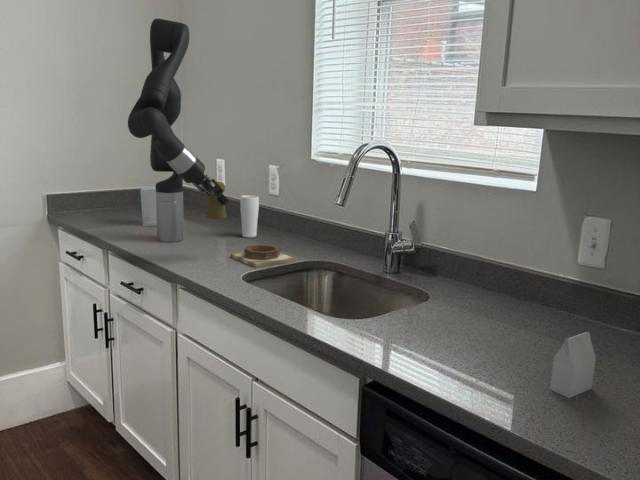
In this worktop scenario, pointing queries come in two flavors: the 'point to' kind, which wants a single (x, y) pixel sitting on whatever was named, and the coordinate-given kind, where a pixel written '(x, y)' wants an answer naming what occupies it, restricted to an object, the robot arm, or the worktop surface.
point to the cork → (216, 205)
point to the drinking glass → (249, 215)
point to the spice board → (262, 262)
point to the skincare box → (148, 206)
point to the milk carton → (573, 366)
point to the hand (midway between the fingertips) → (221, 201)
